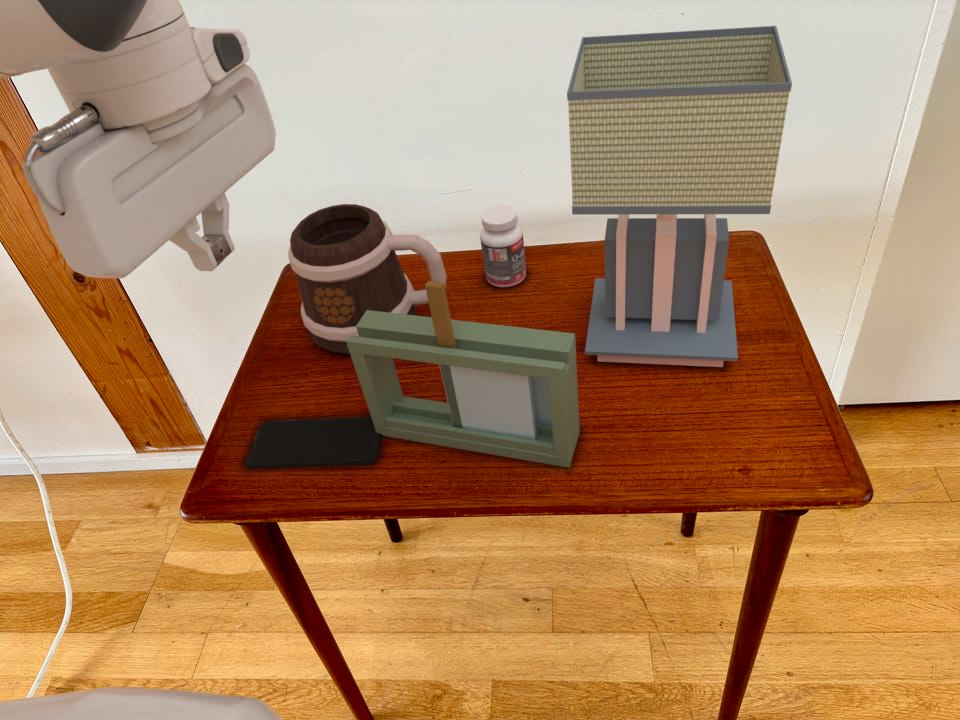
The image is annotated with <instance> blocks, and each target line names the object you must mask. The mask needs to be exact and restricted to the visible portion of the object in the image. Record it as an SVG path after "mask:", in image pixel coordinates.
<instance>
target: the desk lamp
mask: <svg viewBox="0 0 960 720" xmlns="http://www.w3.org/2000/svg"><path fill="white" fill-rule="evenodd" d="M571 73H572V74H571V77H570V80H569V84H568V87H567V91H566V100H567V104H568V127H569V128H568V129H569V150H570V173H571V174H570V175H571V176H570V177H571V197H572V198H571V199H572V200H571V201H572V205H571V212H572V213H571V214H572V215H575V216H576V215H578V216H579V215H582V216H583V215H617V217H616V218H615V217H613V218H612V217H610V218H609V217H608V218H607V219H606V227H605V235H604V277H603V278H601V277H600V278H598V277H595V278H594V285H593V292H592V299H591V306H590V313H589V321H588V327H587V335H586V340H585V348H584V355H586V356H597V357H596V361H597V362H603V363H604V362H605V363H627V364H646V365H647V364H648V365H666V366H667V365H670V366H689V367H690V366H691V367H692V366H693V367H711V368H713V367H714V368H715V367H716V368H723V367H724V362H727V361H728V362H738V360H739V354H738V340H737V330H736V318H735V317H736V316H735V306H734V305H735V303H734V295H733V283H732V282H733V281H732V280H725V275H726V268H727V261H728V260H727V258H728V252H729V244H730V235H729V226H728V225H729V224H728V218H727V217H724V218H723V217H716V215H770V214H771V210H772V198H773V193H774V186H775V180H776V175H777V168H778V163H779V157H780V152H781V145H782V139H783V134H784V128H785V123H786V114H787V109H788V104H789V98H790V92H792V86H793V81H792V78H791V74H790V70H789V67H788V63H787V60H786V56H785V52H784V49H783V45H782V41H781V38H780V34H779V31H778V27H777V25H766V26H765V25H764V26H747V27H732V28H716V29H715V28H714V29H698V30H684V31H683V30H681V31H665V32H664V31H663V32H648V33H633V34H631V33H629V34H614V35H613V34H611V35H598V36H582V37H581V40H580V45H579V48H578V51H577V55H576V58H575V62H574V66H573V70H572V72H571ZM630 215H656V217H647V218H645V217H643V218H642V217H637V218H635V217H634V218H633V217H632V218H631V217H630ZM677 215H703V217H700V218H699V217H685V218H684V217H677Z"/></svg>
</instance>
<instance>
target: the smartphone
mask: <svg viewBox="0 0 960 720" xmlns="http://www.w3.org/2000/svg"><path fill="white" fill-rule="evenodd" d="M382 439H383V436H382V434H381V433H377V432H376V430H375V427H374V424H373V421H372V418H371V415H370V416H348V417H327V418H304V419H302V418H301V419H284V420H267V421H266V420H265V421H263V422H261V423H260V425H259V428H258V430H257V431H256V435H255V437H254V440H253V443H252V445H251V447H250V450H249V453H248V455H247V458H246V461H245V467H246V468H247V469H248V470H260V469H289V468H290V469H291V468H292V469H293V468H317V467H318V468H319V467H320V468H321V467H347V466H348V467H349V466H371V465H375V463H376V462H377V461H378V457H379V453H380V448H381V443H382Z"/></svg>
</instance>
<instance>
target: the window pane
mask: <svg viewBox="0 0 960 720" xmlns="http://www.w3.org/2000/svg"><path fill="white" fill-rule="evenodd" d="M424 289H425V290H426V293H427V297H428V302H429V303H428V306H429V310H430V315H431V317H432V320H433V325H434V329H435V334H436V338H437V343H438V347H444V348H452V349H457V347H456V342H455V337H454V332H453V327H452V322H451V320H452V317H451V311H450V307H449V302H448V297H447V291H446V287H445V286H444V283H443V282H434V281H431V280H427V281H426V283H425V285H424ZM438 365H439V369H440V373H441V378H442V382H443V388H444V392H445V396H446V399H447V400H446V401H447V403H448V405H449V410H450V414H451V419H452V423H453V427H458V428H464V429H470V430H476V431H483V432H489V433H495V434H501V435H507V436H513V437H520V438H526V439H532V440H537V437H538V434H537V425H536V415H535V406H534V397H533V387H532V378H531V377H530V376H523V375H515V374H508V373H500V372H493V371H486V370H478V369H471V368H463V367H456V366H448V365H441V364H438Z"/></svg>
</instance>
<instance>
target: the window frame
mask: <svg viewBox="0 0 960 720" xmlns="http://www.w3.org/2000/svg"><path fill="white" fill-rule="evenodd" d="M451 322H452V327H453V332H454V337H455V342H456V347H457V349H452V348H444V347H438V343H437V338H436V334H435V329H434V325H433V320H432V316H431V317H430V316H424V315H423V316H421V315H406V314H397V313H388V312H379V311H370V310H367V311H366V312H365V313H364V315H363V316H362V318H361V319H360V321H359V322H358V324H357V325H356V329H357V332H358V335H359V337H357V336H349V337H348V339H347V340H346V343H347V346H348V349H349V352H350V354H349V355H350V358H351V361H352V364H353V367H354V370H355V372H356V375H357V379H358V381H359V384H360V388H361V391H362V394H363V397H364V400H365V402H366V405H367V409H368V411H369V415H370V416H371V418H372V421H373V424H374V427H375V430H376V432H377V433H381V434H382V437H388V438H394V439H399V440H405V441H412V442H418V443H424V444H429V445H434V446H440V447H446V448H452V449H457V450H464V451H469V452H475V453H481V454H487V455H493V456H499V457H504V458H511V459H515V460H522V461H526V462H533V463H540V464H546V465H551V466H555V467H556V466H557V467H562V468H568V469H569V468H570V467H571V463H572V460H573V457H574V454H575V450H576V447H577V443H578V439H579V436H580V429H581V428H580V408H579V393H578V392H579V390H578V389H579V387H578V366H577V346H576V333H574V332H566V331H565V332H564V331H557V330H547V329H538V328H530V327H520V326H519V327H518V326H512V325H503V324H494V323H485V322H478V321H477V322H476V321H468V320H457V319H451ZM394 359H395V360H396V359H397V360H403V361H412V362H419V363H427V364H434V365H439V364H441V365H448V366H456V367H463V368H471V369H478V370H486V371H493V372H500V373H508V374H515V375H523V376H530V377H531V378H532V387H533V397H534V406H535V415H536V425H537V434H538V437H537V440H532V439H526V438H520V437H513V436H507V435H501V434H495V433H489V432H483V431H476V430H470V429H464V428H458V427H453V423H452V419H451V414H450V410H449V405H448V402H445V401H438V400H431V399H424V398H417V397H410V396H405V395H404V394H403V391H402V386H401V384H400V380H399V377H398V372H397V369H396V365H395V362H394Z"/></svg>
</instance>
